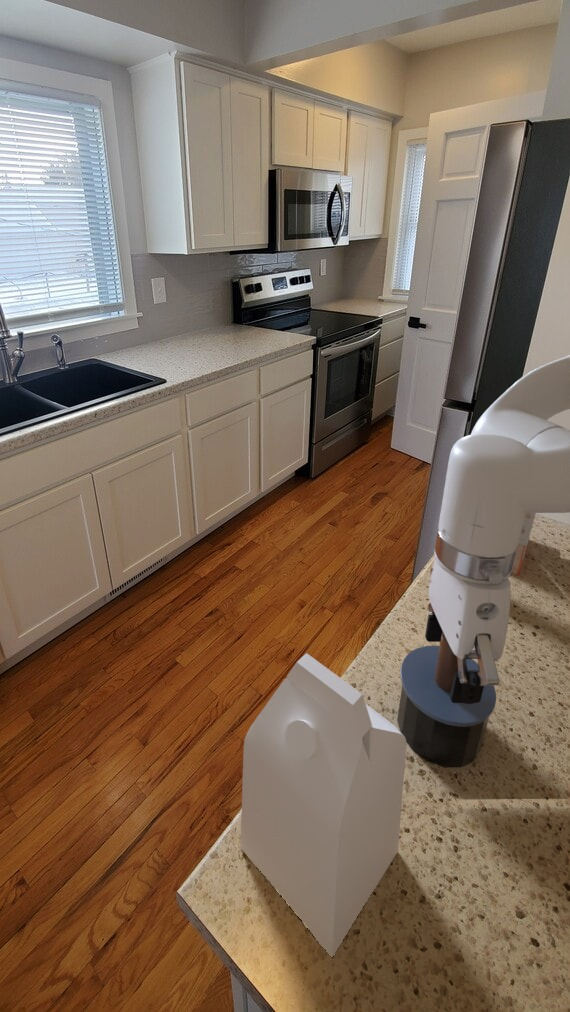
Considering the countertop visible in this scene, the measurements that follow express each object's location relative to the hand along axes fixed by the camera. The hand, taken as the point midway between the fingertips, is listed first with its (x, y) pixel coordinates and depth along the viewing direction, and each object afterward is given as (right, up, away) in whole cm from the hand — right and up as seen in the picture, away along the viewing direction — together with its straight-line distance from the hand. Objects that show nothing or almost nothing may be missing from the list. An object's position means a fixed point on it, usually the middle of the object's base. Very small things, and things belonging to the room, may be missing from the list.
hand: (450, 667), depth 58 cm
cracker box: (+26, +5, +37) cm, 45 cm away
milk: (-17, -16, -7) cm, 24 cm away
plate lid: (0, -3, +1) cm, 3 cm away
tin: (0, -10, +5) cm, 11 cm away
